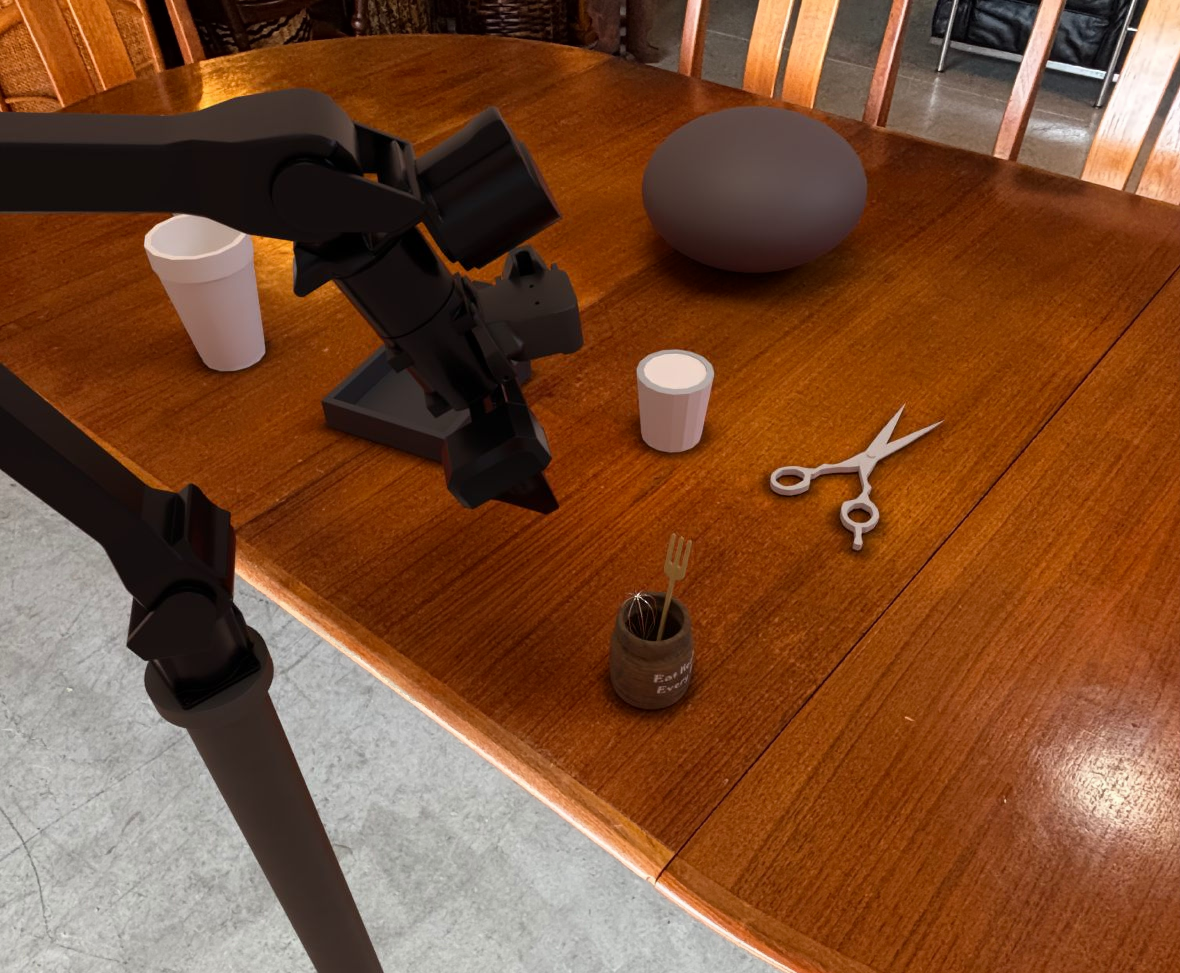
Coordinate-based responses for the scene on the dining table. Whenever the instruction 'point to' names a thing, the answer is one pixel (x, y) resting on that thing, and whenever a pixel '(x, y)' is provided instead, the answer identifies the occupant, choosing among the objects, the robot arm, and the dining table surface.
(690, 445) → the shot glass
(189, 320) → the foam cup
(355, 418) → the baking tray
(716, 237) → the smooth stone
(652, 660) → the utensil holder
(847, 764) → the dining table surface
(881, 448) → the scissors
